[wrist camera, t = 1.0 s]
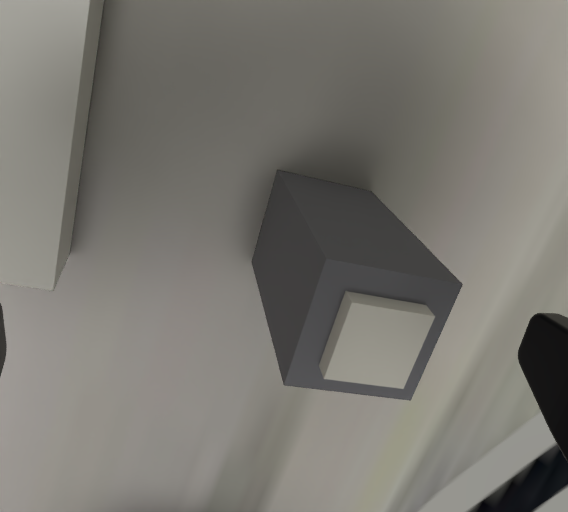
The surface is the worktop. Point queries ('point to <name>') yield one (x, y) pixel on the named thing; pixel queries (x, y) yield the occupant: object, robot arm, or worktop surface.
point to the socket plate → (43, 131)
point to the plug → (348, 290)
